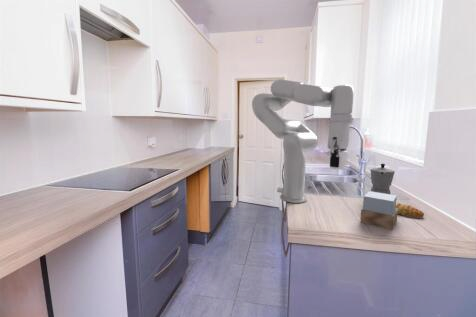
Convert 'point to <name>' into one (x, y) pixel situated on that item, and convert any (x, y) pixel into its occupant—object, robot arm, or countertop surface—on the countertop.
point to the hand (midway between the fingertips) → (337, 165)
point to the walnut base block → (379, 219)
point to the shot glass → (341, 159)
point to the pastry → (409, 211)
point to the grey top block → (380, 203)
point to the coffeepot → (381, 179)
